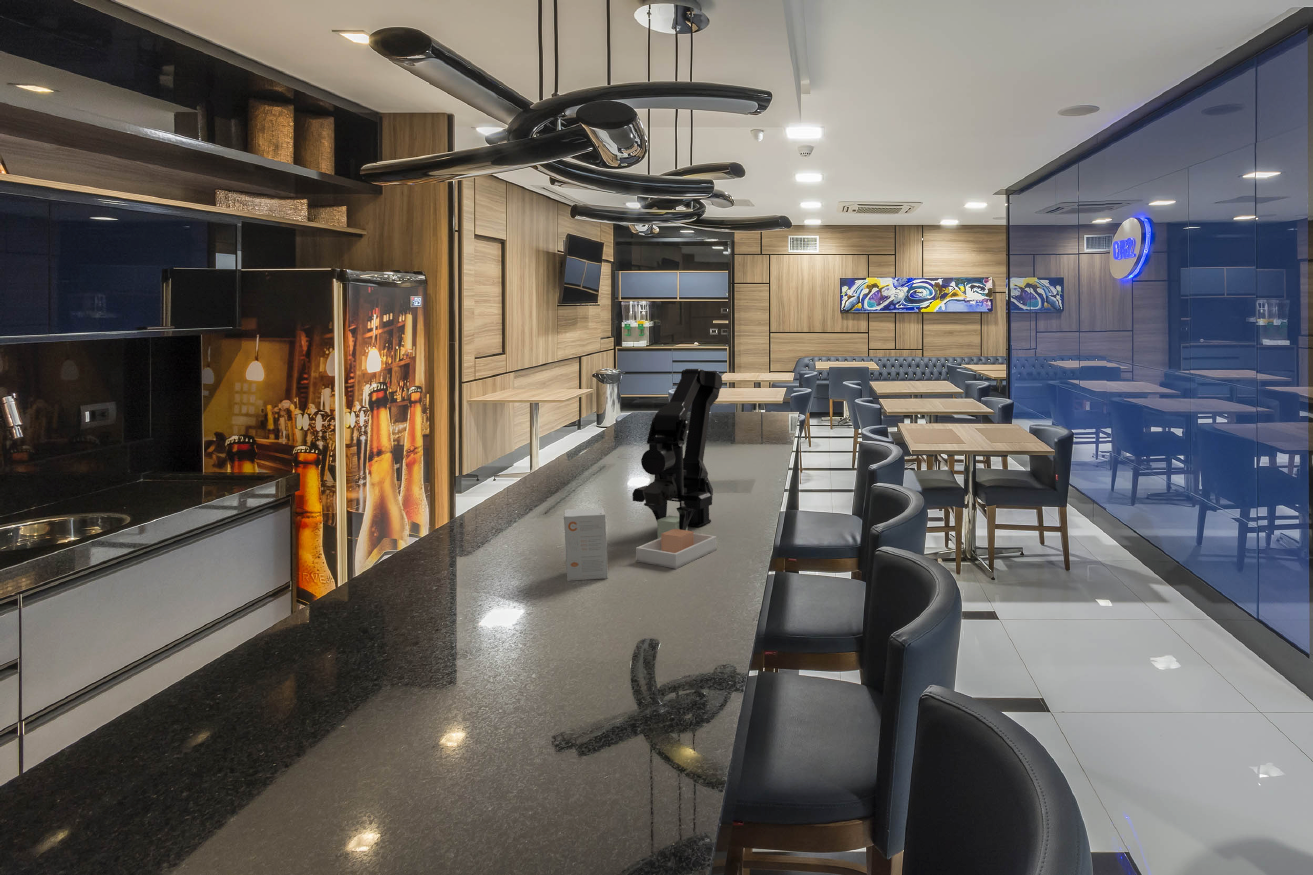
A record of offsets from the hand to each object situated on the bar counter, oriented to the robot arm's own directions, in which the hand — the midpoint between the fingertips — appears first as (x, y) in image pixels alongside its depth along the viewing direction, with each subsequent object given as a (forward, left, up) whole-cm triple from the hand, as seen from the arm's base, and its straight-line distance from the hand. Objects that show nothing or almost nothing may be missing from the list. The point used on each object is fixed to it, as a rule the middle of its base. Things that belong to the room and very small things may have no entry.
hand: (672, 533), depth 189 cm
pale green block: (0, 0, -1) cm, 1 cm away
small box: (+1, -32, -1) cm, 32 cm away
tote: (+9, -11, -1) cm, 15 cm away
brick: (+9, -11, 0) cm, 15 cm away
